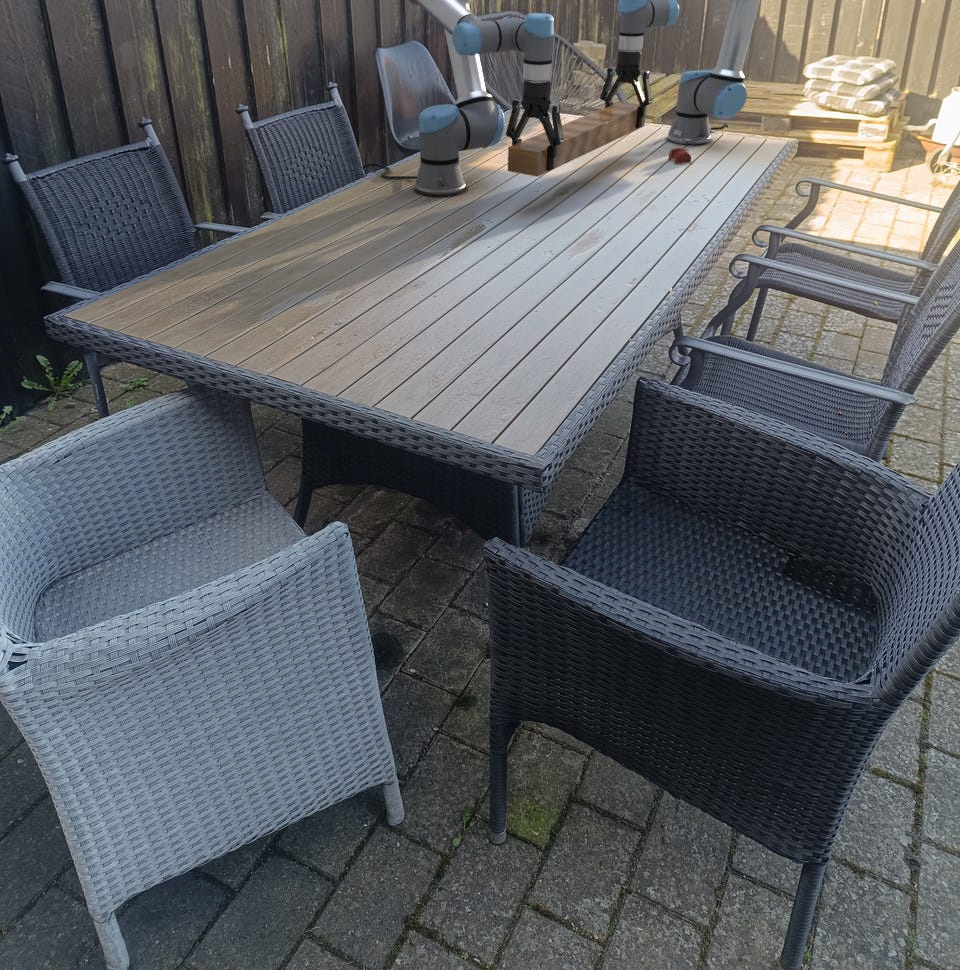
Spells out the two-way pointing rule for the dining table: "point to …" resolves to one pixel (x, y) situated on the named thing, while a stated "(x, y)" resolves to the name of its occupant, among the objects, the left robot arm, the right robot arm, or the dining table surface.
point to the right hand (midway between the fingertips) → (623, 125)
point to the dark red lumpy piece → (680, 155)
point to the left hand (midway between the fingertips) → (533, 166)
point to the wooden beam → (575, 139)
